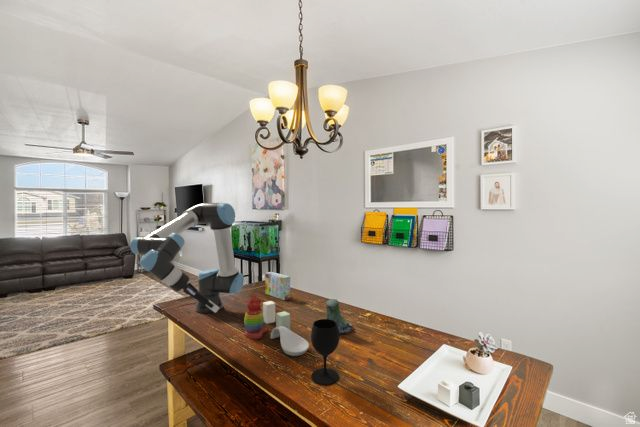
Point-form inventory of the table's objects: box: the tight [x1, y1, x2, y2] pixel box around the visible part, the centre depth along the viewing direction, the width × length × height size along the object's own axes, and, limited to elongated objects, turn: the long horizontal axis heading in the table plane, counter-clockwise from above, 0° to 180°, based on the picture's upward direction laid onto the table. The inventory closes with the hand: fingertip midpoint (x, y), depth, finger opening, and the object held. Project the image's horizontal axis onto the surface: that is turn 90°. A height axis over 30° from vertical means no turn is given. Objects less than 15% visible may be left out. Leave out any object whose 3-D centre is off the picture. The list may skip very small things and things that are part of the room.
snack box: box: [264, 271, 291, 301], centre depth 201 cm, size 21×6×15 cm, turn 46°
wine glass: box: [310, 318, 340, 386], centre depth 109 cm, size 10×10×20 cm
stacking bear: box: [243, 295, 268, 340], centre depth 144 cm, size 11×10×18 cm
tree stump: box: [324, 298, 354, 336], centre depth 149 cm, size 18×20×18 cm
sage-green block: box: [275, 310, 291, 337], centre depth 144 cm, size 5×5×10 cm
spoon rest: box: [269, 326, 310, 357], centre depth 131 cm, size 24×12×7 cm, turn 40°
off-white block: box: [262, 300, 276, 325], centre depth 159 cm, size 5×5×10 cm
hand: (217, 309), depth 134 cm, fingers closed
